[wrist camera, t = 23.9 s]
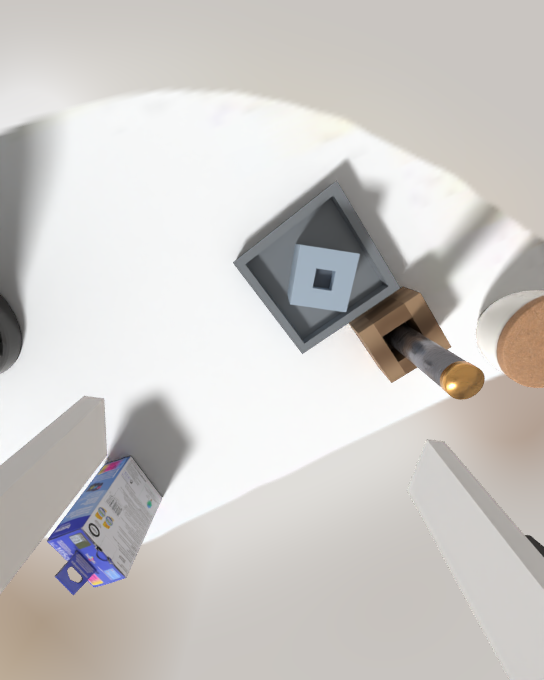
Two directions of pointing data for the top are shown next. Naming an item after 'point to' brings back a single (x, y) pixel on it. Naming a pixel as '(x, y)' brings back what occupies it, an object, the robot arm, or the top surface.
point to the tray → (324, 232)
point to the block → (322, 277)
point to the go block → (389, 316)
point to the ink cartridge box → (106, 525)
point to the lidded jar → (515, 336)
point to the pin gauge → (437, 362)
